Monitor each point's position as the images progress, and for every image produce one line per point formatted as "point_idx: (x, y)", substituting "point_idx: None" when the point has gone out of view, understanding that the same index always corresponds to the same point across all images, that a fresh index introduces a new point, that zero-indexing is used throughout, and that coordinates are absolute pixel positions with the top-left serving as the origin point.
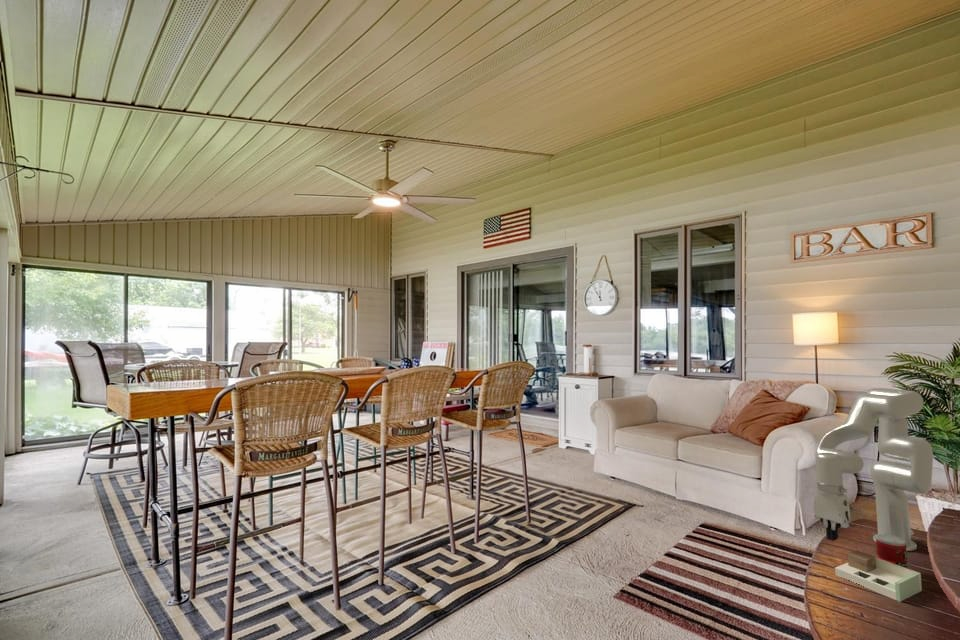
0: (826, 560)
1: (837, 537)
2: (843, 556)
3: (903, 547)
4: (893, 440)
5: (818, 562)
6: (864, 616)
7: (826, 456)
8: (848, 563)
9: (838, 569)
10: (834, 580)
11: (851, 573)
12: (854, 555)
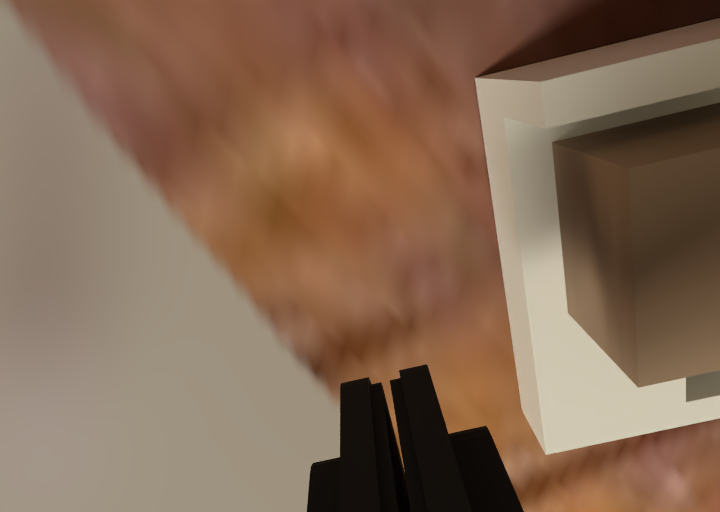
0: (292, 268)
1: (490, 442)
2: (254, 6)
3: None
4: None
5: (307, 364)
6: None
7: None
8: (580, 323)
9: (575, 447)
10: (571, 472)
11: (677, 414)
12: (712, 351)
